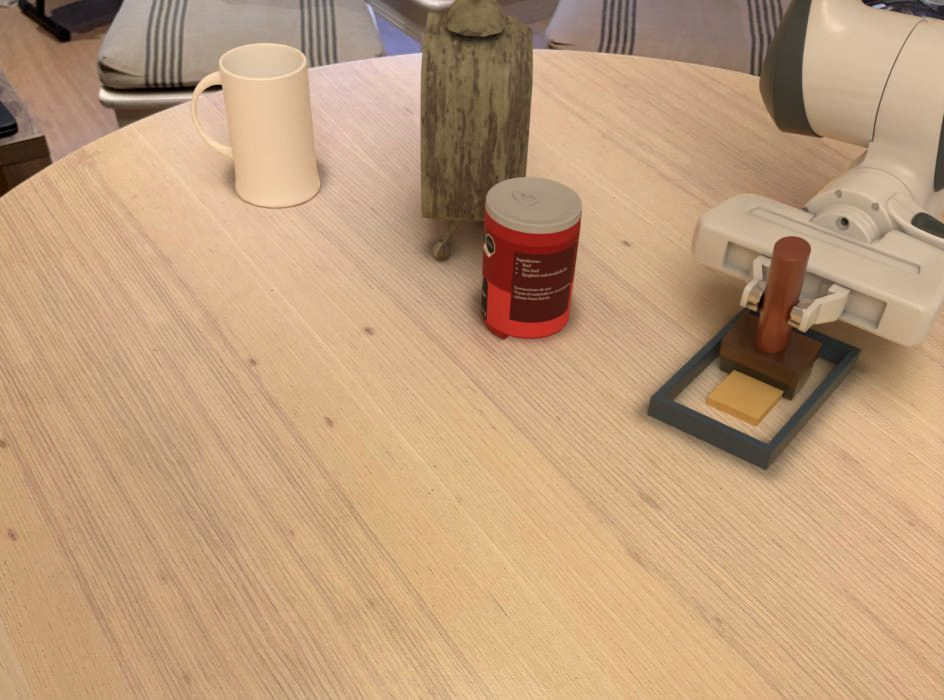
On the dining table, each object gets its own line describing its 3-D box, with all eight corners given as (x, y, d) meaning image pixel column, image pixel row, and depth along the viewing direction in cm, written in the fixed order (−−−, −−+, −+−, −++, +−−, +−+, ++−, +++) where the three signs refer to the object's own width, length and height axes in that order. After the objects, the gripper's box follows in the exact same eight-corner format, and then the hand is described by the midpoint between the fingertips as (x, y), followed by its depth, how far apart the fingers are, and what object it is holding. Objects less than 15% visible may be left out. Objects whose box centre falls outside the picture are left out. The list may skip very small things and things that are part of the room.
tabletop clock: (430, 191, 103) (430, -103, 84) (519, 195, 103) (540, -98, 84) (421, 270, 94) (419, -39, 75) (518, 274, 94) (542, -34, 75)
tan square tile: (731, 379, 84) (733, 369, 83) (780, 400, 82) (784, 390, 82) (704, 406, 82) (707, 396, 81) (755, 429, 80) (758, 419, 79)
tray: (740, 330, 90) (748, 302, 87) (851, 377, 86) (862, 349, 84) (644, 425, 81) (650, 396, 79) (762, 480, 77) (772, 452, 75)
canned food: (510, 284, 93) (518, 166, 85) (585, 315, 90) (601, 196, 82) (462, 323, 89) (465, 203, 81) (538, 357, 86) (550, 236, 78)
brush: (739, 342, 85) (762, 216, 75) (813, 373, 83) (849, 248, 72) (716, 370, 84) (736, 247, 73) (791, 403, 82) (823, 281, 71)
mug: (193, 200, 101) (168, 72, 92) (219, 159, 106) (198, 34, 97) (308, 212, 100) (295, 84, 91) (329, 170, 106) (319, 45, 96)
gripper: (746, 158, 85) (662, 224, 78) (985, 243, 78) (916, 325, 71) (728, 229, 90) (648, 297, 83) (952, 315, 83) (885, 398, 76)
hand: (773, 311), depth 77 cm, fingers closed on brush, 3 cm apart
